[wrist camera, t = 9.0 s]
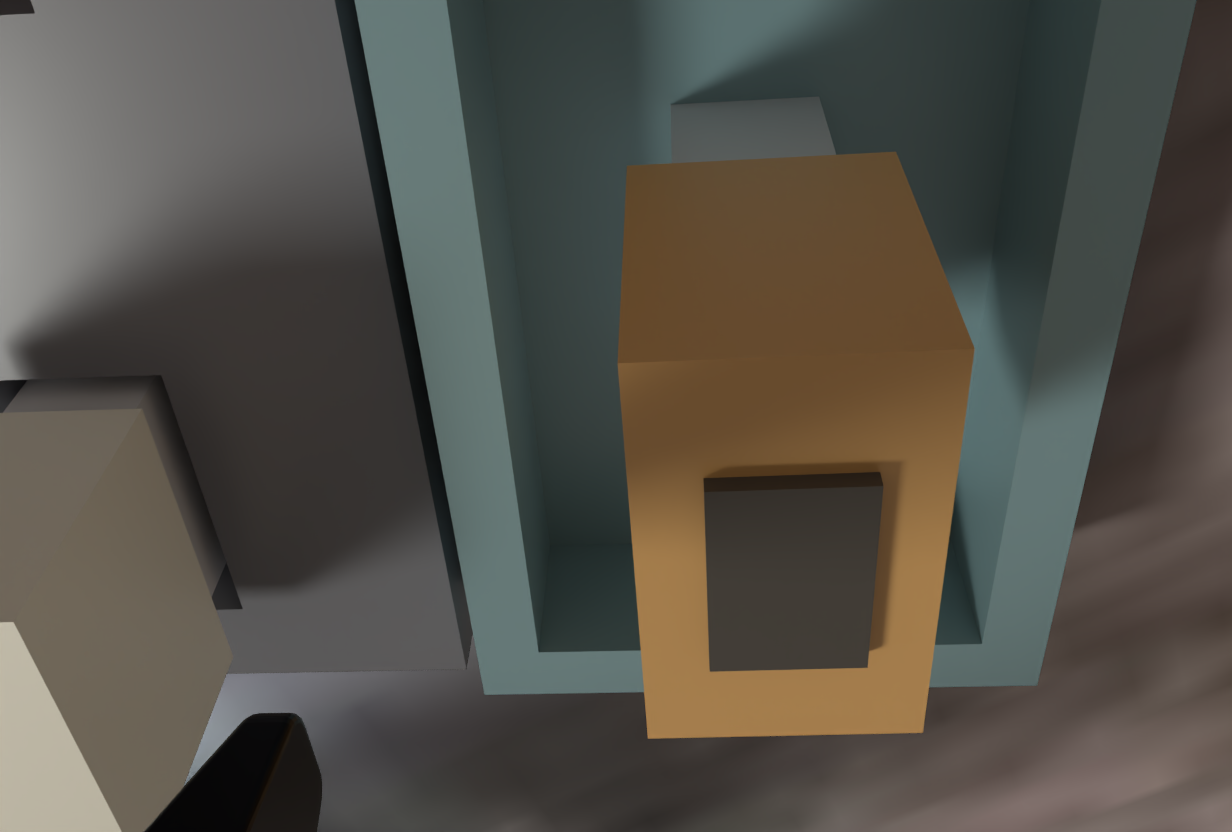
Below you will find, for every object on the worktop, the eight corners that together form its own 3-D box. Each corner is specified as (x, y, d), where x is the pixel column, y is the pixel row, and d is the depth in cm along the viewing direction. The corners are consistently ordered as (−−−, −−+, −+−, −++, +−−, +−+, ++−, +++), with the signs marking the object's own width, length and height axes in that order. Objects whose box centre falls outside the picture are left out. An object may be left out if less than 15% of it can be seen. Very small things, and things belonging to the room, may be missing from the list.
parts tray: (993, 557, 21) (1036, 685, 19) (503, 568, 22) (484, 694, 19) (1162, -366, 13) (1276, -345, 11) (364, -312, 14) (302, -283, 11)
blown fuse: (840, 371, 18) (926, 747, 13) (650, 378, 19) (648, 753, 13) (858, 58, 15) (980, 361, 10) (631, 70, 16) (617, 376, 10)
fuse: (280, 532, 21) (147, 880, 16) (121, 536, 22) (-67, 882, 16) (209, 297, 19) (13, 622, 13) (25, 303, 19) (-247, 627, 13)
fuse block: (480, 588, 22) (466, 669, 21) (-31, 599, 23) (-84, 679, 21) (248, -726, 12) (182, -773, 10) (-703, -644, 12) (-913, -675, 10)
